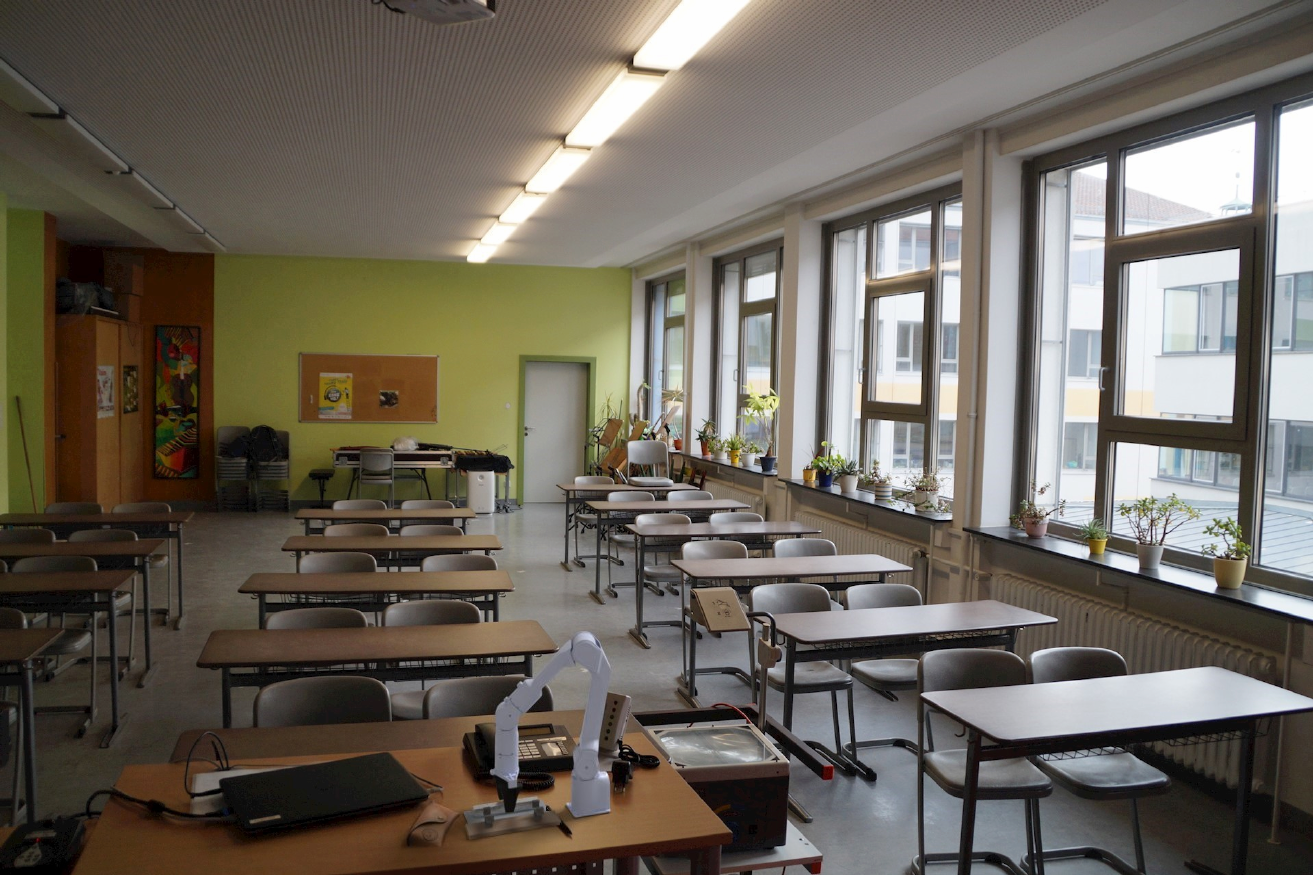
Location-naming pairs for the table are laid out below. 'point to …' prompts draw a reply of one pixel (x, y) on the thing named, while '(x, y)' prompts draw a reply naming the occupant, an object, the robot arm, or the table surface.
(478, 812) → the rail
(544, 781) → the table surface
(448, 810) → the sunglasses case
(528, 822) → the hook rack
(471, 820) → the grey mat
